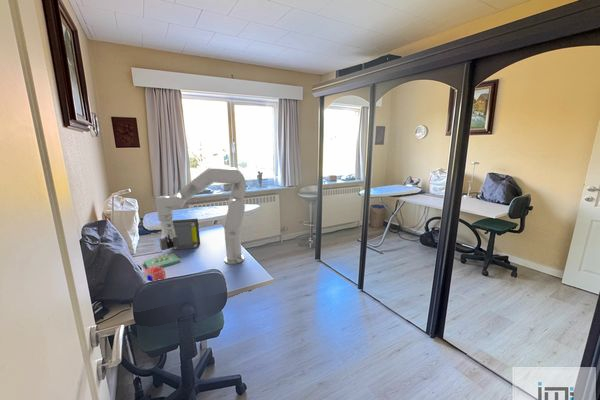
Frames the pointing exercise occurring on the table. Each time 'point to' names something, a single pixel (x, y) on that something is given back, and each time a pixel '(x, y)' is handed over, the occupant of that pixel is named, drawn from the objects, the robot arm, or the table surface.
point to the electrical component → (187, 233)
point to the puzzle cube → (154, 273)
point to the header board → (162, 260)
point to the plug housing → (164, 243)
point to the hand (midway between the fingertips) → (169, 246)
